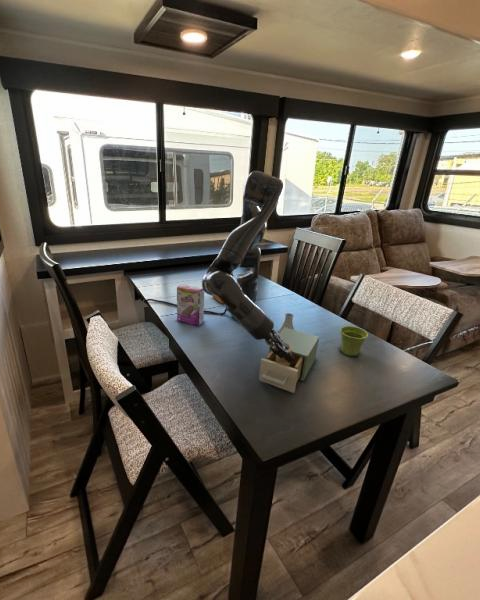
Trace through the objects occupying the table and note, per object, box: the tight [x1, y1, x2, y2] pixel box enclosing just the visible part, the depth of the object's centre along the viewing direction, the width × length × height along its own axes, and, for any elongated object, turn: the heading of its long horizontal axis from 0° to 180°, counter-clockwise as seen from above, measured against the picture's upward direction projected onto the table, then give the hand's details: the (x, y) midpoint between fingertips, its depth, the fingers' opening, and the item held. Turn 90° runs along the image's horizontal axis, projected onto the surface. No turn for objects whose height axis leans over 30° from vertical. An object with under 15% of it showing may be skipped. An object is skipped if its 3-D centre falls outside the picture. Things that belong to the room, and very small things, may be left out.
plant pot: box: [339, 325, 369, 357], centre depth 116 cm, size 9×9×9 cm
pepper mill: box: [275, 343, 292, 367], centre depth 97 cm, size 5×5×9 cm
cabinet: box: [268, 327, 320, 382], centre depth 108 cm, size 15×13×10 cm
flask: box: [277, 312, 295, 334], centre depth 126 cm, size 7×7×10 cm
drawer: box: [258, 351, 305, 394], centre depth 99 cm, size 18×11×8 cm, turn 148°
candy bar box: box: [176, 283, 205, 327], centre depth 135 cm, size 11×5×16 cm, turn 65°
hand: (289, 355), depth 97 cm, fingers closed on pepper mill, 4 cm apart
